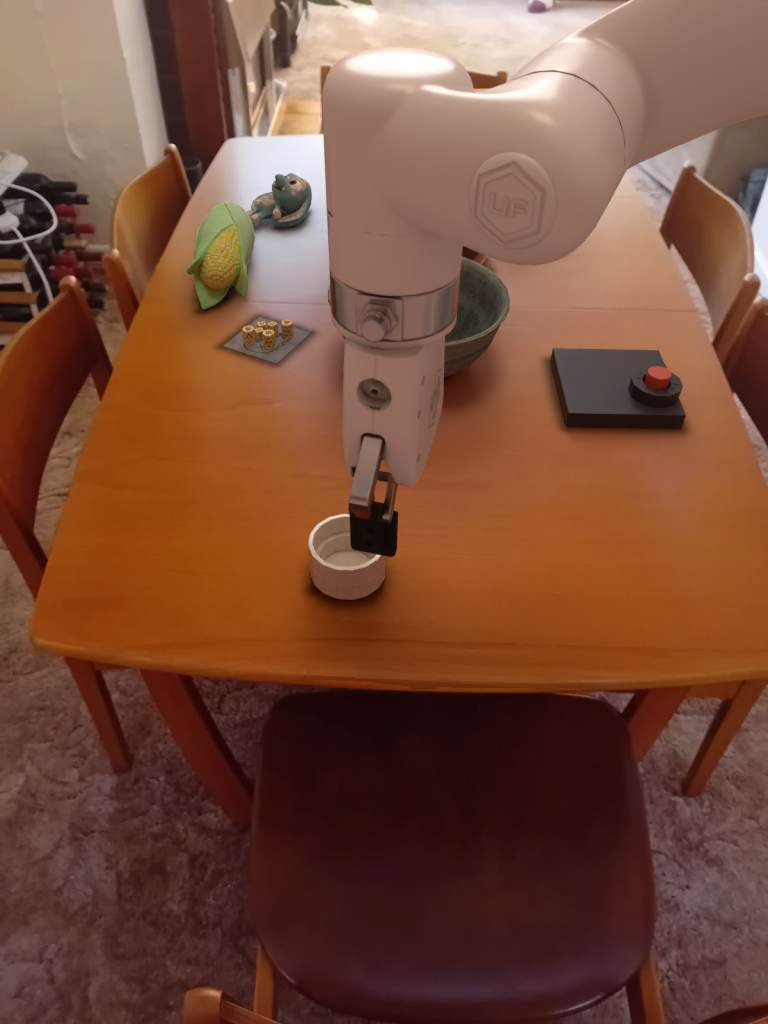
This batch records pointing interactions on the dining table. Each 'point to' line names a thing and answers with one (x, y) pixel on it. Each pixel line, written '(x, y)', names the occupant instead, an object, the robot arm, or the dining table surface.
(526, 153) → the robot arm
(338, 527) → the small bowl
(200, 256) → the corn
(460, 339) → the bowl
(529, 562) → the dining table surface
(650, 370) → the tare button
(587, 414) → the black button base
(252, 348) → the set of gold cylinders
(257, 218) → the grey-green animal figurine
